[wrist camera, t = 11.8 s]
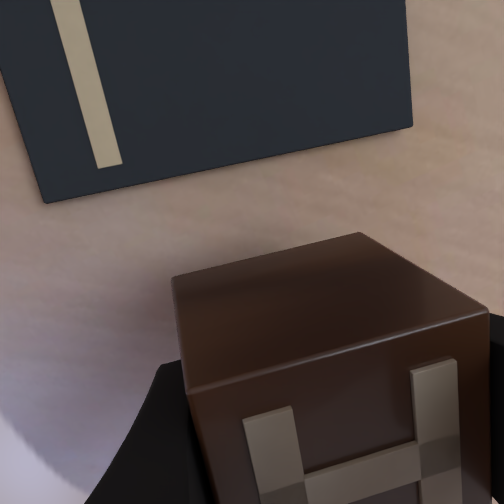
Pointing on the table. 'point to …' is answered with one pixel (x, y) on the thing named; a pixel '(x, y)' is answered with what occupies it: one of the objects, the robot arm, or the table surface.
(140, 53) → the word mat
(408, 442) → the letter tile
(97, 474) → the table surface
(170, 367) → the robot arm
